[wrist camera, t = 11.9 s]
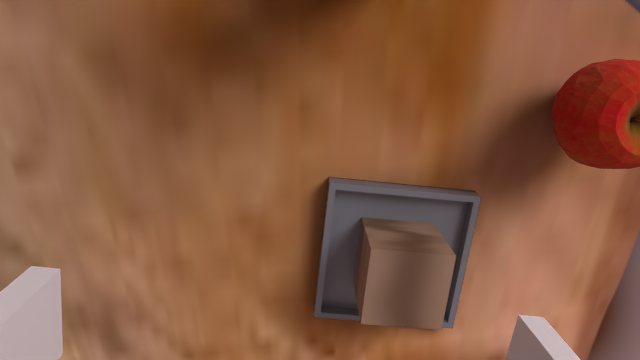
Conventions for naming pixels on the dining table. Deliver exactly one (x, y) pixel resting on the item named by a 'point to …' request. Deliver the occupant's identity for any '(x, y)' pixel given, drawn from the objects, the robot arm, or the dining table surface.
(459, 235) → the slate tray
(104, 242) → the dining table surface
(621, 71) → the apple
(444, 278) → the walnut cube
